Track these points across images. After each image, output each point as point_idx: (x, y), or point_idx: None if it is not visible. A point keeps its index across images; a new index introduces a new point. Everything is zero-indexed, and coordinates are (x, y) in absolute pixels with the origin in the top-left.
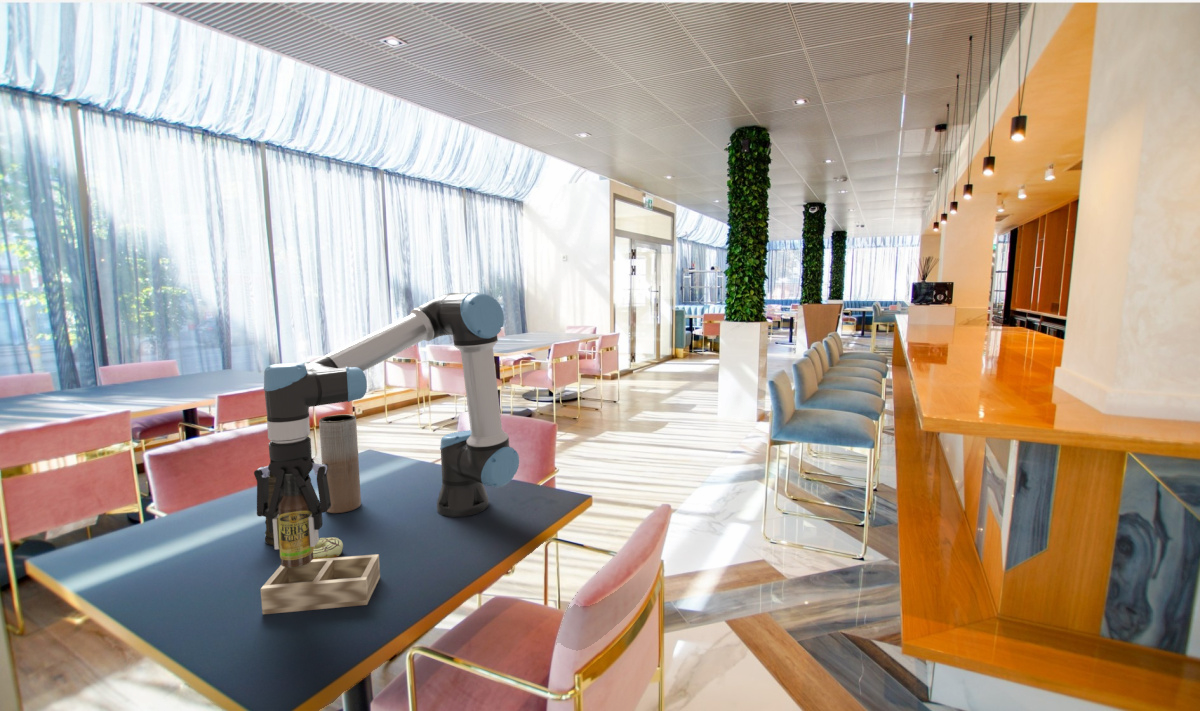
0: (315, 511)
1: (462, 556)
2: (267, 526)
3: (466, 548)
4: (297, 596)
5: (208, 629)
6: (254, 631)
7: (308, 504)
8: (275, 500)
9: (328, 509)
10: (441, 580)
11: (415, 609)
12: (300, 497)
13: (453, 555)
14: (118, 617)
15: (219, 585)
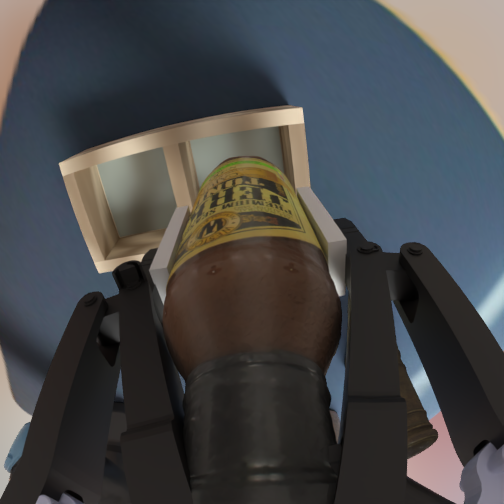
0: (128, 291)
1: (35, 305)
2: (399, 360)
3: (45, 326)
4: (211, 118)
5: (367, 67)
6: (269, 48)
7: (149, 317)
8: (364, 316)
9: (330, 413)
10: (19, 237)
11: (11, 150)
12: (185, 351)
13: (48, 309)
14: (500, 139)
15: (420, 217)
